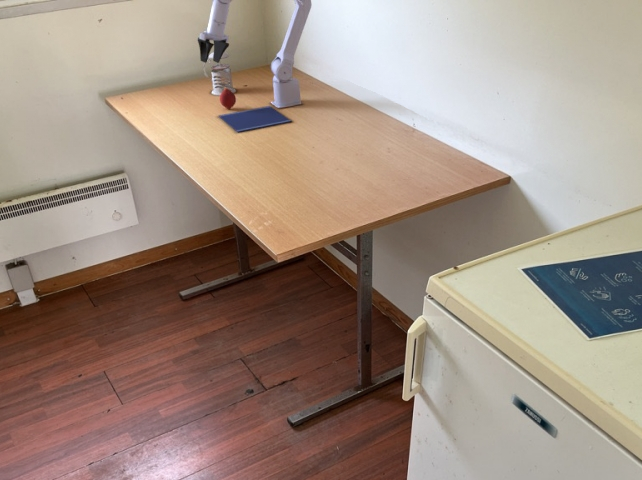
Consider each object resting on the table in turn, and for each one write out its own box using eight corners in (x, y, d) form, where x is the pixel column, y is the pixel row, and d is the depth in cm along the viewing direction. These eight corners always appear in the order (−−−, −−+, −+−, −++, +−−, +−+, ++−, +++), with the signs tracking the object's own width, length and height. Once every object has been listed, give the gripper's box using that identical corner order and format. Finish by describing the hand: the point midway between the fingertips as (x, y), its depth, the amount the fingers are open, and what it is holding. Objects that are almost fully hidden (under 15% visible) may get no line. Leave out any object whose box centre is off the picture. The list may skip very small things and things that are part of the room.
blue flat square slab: (269, 107, 247) (269, 105, 247) (291, 122, 232) (291, 120, 232) (218, 116, 240) (218, 115, 240) (238, 132, 225) (237, 131, 225)
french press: (234, 94, 261) (225, 26, 246) (204, 95, 261) (194, 27, 246) (237, 87, 268) (229, 20, 254) (209, 88, 269) (199, 21, 254)
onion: (238, 106, 248) (235, 84, 244) (234, 111, 244) (232, 89, 239) (223, 106, 249) (220, 85, 244) (219, 111, 244) (216, 89, 240)
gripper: (220, 18, 233) (212, 58, 240) (195, 15, 221) (188, 57, 227) (236, 25, 231) (228, 64, 238) (212, 22, 219) (204, 64, 226)
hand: (209, 61), depth 233 cm, fingers open, 7 cm apart
